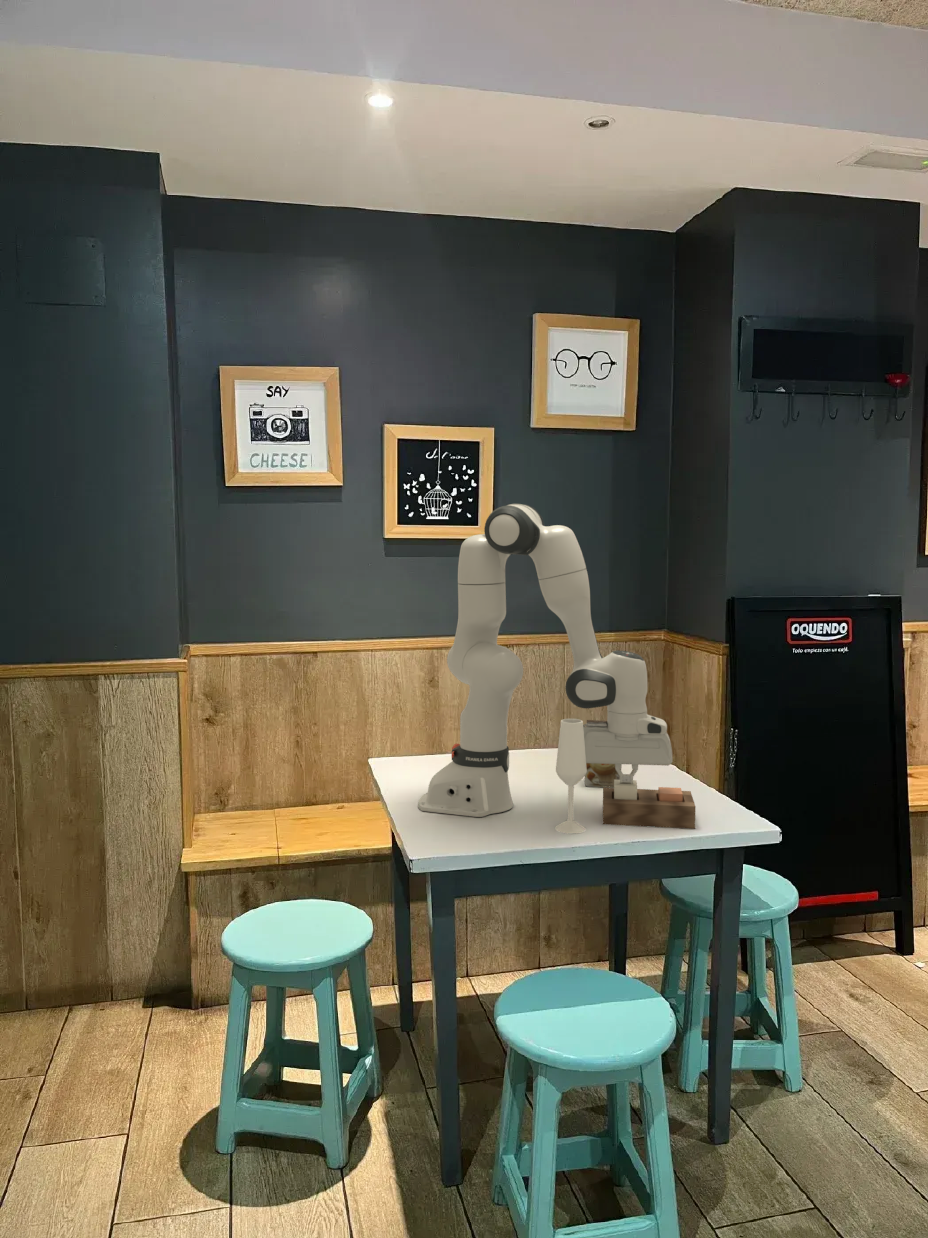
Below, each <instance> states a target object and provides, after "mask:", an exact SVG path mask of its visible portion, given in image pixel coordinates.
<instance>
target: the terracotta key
mask: <svg viewBox="0 0 928 1238" xmlns="http://www.w3.org/2000/svg"><path fill="white" fill-rule="evenodd" d="M657 790H658V801H670V802H683V793H682V791H683V790H682V788H681V787H667V786H666V787H665V786H658V789H657Z"/></svg>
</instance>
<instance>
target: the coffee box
mask: <svg viewBox="0 0 928 1238" xmlns="http://www.w3.org/2000/svg"><path fill="white" fill-rule="evenodd" d="M587 722H593V723H598V722H607V720H601V719H600V720H596V719H594V720H592V719H586V723H587ZM585 727H587V726H585ZM586 768H587V772H586V774H585V776H584V786H585V787H595V788H614V780H620V776H619V774H618V772H617V771H616V769H615V764H599V763H586ZM620 770H621V771H622V768H621V769H620Z"/></svg>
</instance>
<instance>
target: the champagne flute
mask: <svg viewBox="0 0 928 1238" xmlns="http://www.w3.org/2000/svg"><path fill="white" fill-rule="evenodd" d="M583 725H584V721H583V720H581V719H579V718H564V719H561V720H560V727H559V733H558V734H559V736H558V746H557V752H556V753H557V754H556V765H555V772H556V774H557V776H558V777H559V779H560V780H561V781H562V782H563V783H564V784H565V785H567V786H568V788H567V789H568V790H567V791H568V792H567V820H566V821H564V822H562V823H560V824H558V825H555V830H556V831H557V832H559V833H563V834H568V833H576V834H581V833H583V832H585V831H586V827H585V826H583V825H582V824H580V823H578V822H577V821H575V820H574V796H575V795H574V789H575V787H574V786H576V785H577V784H578V783H580V782H581V781H582V780H584V778H585V774H586V772H587V768H586V755H585V743H584V730H583Z"/></svg>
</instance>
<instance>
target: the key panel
mask: <svg viewBox="0 0 928 1238" xmlns="http://www.w3.org/2000/svg"><path fill="white" fill-rule="evenodd" d="M682 793H683V802H670V801H658V789H648V788H647V789H646V788H643V789H642V788H637V800H624V799H614V787H602V825H603V826H604V825H606V826H608V825H610V826H628V827H629V826H630V827H631V826H632V827H647V826H655V827H654V828H673V829H675V828H676V829H696V804H695V800H694V798H693V795H692V792H691V791H690V790H682Z"/></svg>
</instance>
